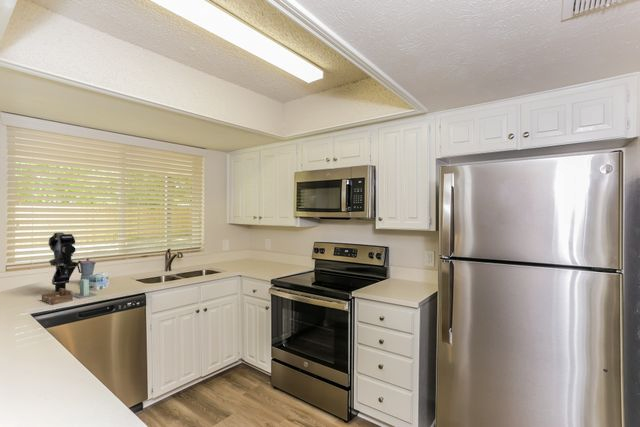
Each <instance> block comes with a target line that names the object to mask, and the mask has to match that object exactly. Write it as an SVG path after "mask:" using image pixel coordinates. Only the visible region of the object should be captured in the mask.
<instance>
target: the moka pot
mask: <svg viewBox="0 0 640 427" xmlns="http://www.w3.org/2000/svg"><path fill="white" fill-rule="evenodd" d="M76 263H77V266H76V268H77V269H78V273H80V274H81V275H80V279H79V281H80V280H82V279H87V280H89V286H90V275H93V274H94V270H95V264H96V261H93V260H90V258H86V260H78V262H76Z"/></svg>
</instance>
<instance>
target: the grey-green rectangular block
mask: <svg viewBox="0 0 640 427" xmlns="http://www.w3.org/2000/svg"><path fill="white" fill-rule="evenodd" d="M89 292H90V285H89V280H87V279H82V280H80V279H79V294H80V295H82V296H86V295H89Z"/></svg>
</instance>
